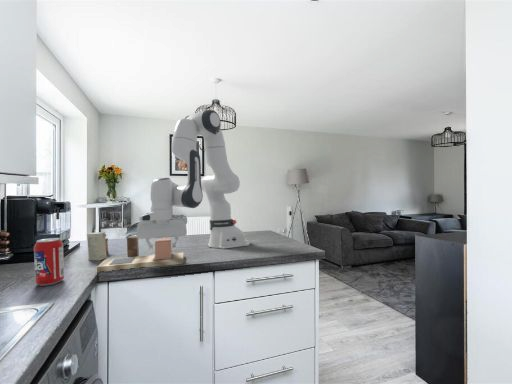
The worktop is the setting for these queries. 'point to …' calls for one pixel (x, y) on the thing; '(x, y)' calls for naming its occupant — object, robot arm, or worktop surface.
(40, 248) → the soda can
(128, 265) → the board
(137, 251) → the peg
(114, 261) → the pad
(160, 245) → the block
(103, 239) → the skincare box
